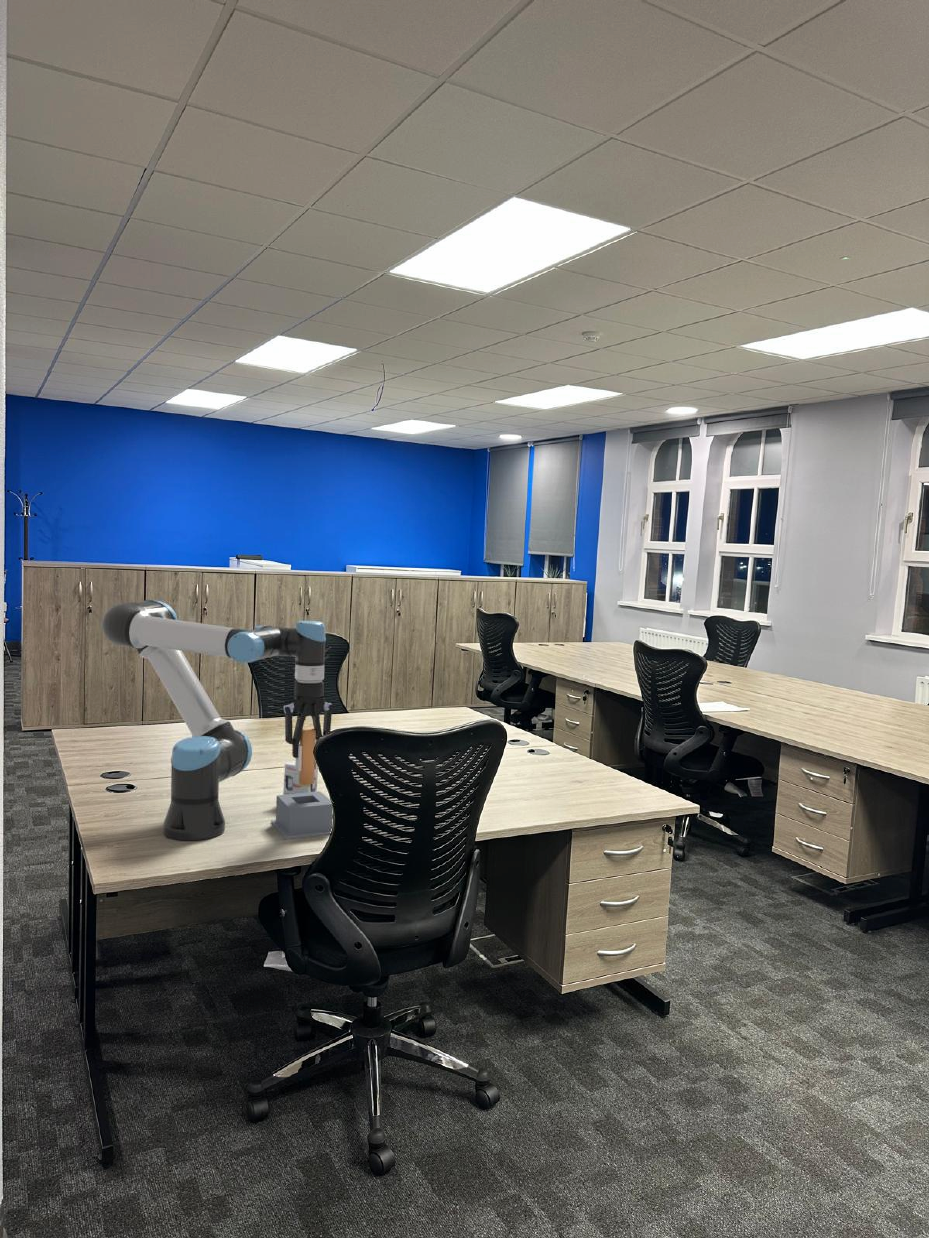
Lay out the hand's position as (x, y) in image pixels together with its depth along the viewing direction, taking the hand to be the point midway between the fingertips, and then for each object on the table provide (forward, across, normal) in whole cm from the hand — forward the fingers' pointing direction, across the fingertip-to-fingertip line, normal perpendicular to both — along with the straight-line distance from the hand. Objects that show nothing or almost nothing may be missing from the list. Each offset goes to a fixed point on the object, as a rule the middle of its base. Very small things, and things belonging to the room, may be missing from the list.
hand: (306, 768), depth 230 cm
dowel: (+4, 0, 0) cm, 4 cm away
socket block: (+16, 0, 0) cm, 16 cm away
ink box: (+16, +5, +20) cm, 26 cm away
